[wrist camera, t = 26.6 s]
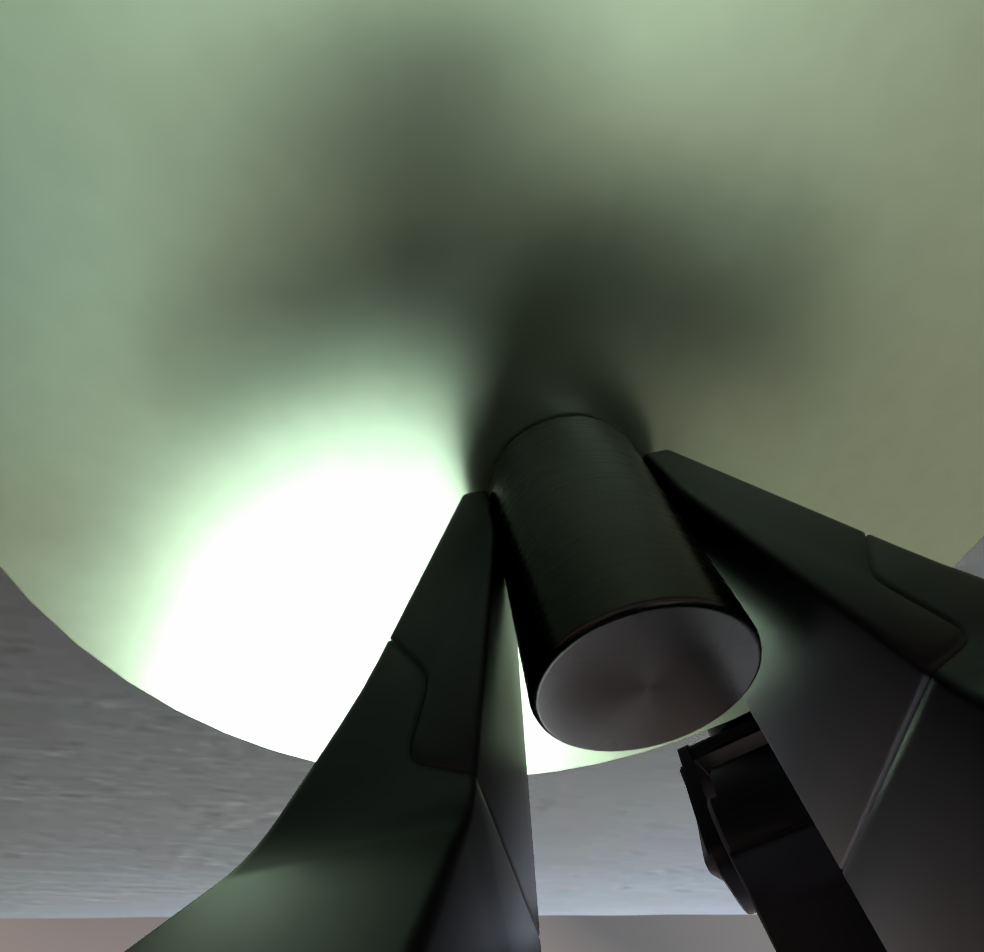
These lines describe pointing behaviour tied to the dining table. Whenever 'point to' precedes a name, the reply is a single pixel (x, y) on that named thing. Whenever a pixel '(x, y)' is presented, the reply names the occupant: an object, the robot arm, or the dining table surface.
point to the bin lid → (473, 329)
